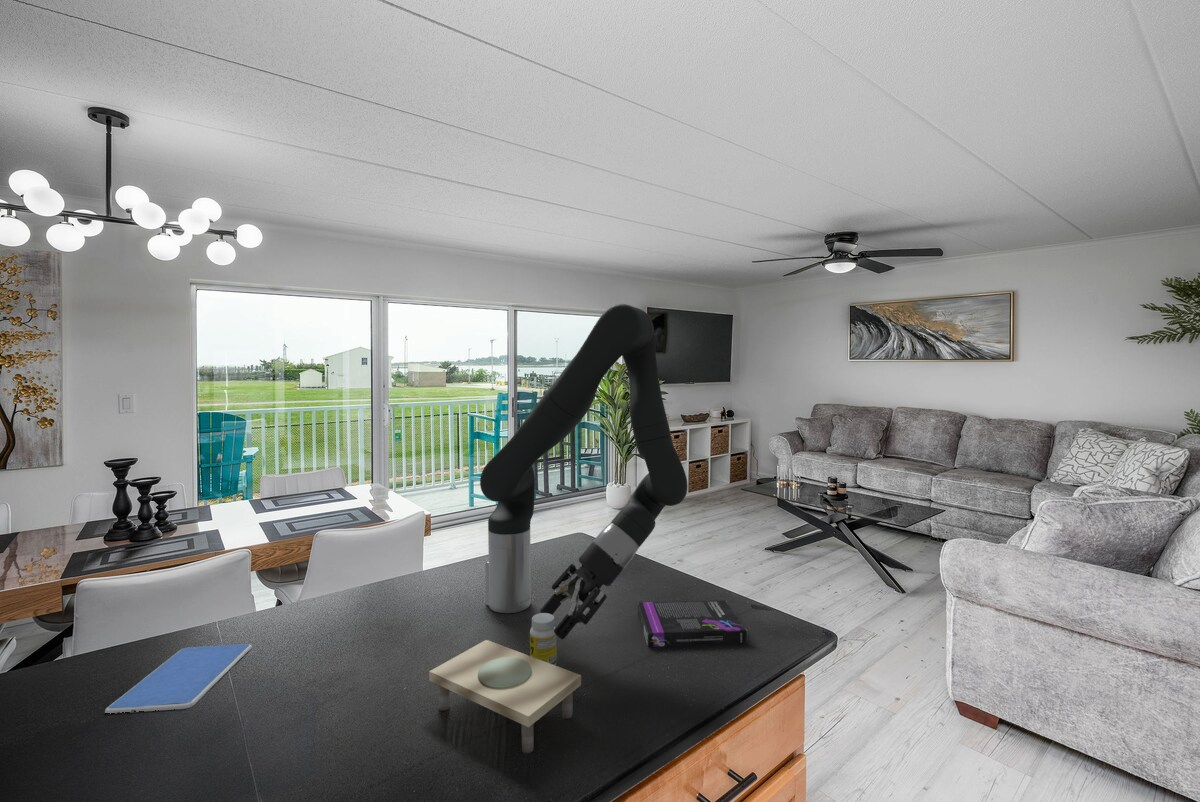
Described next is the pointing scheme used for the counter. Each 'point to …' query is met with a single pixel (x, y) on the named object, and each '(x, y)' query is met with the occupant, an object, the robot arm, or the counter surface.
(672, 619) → the box
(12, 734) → the counter surface
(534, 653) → the supplement bottle
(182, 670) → the tablet computer
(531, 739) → the shelf stand
